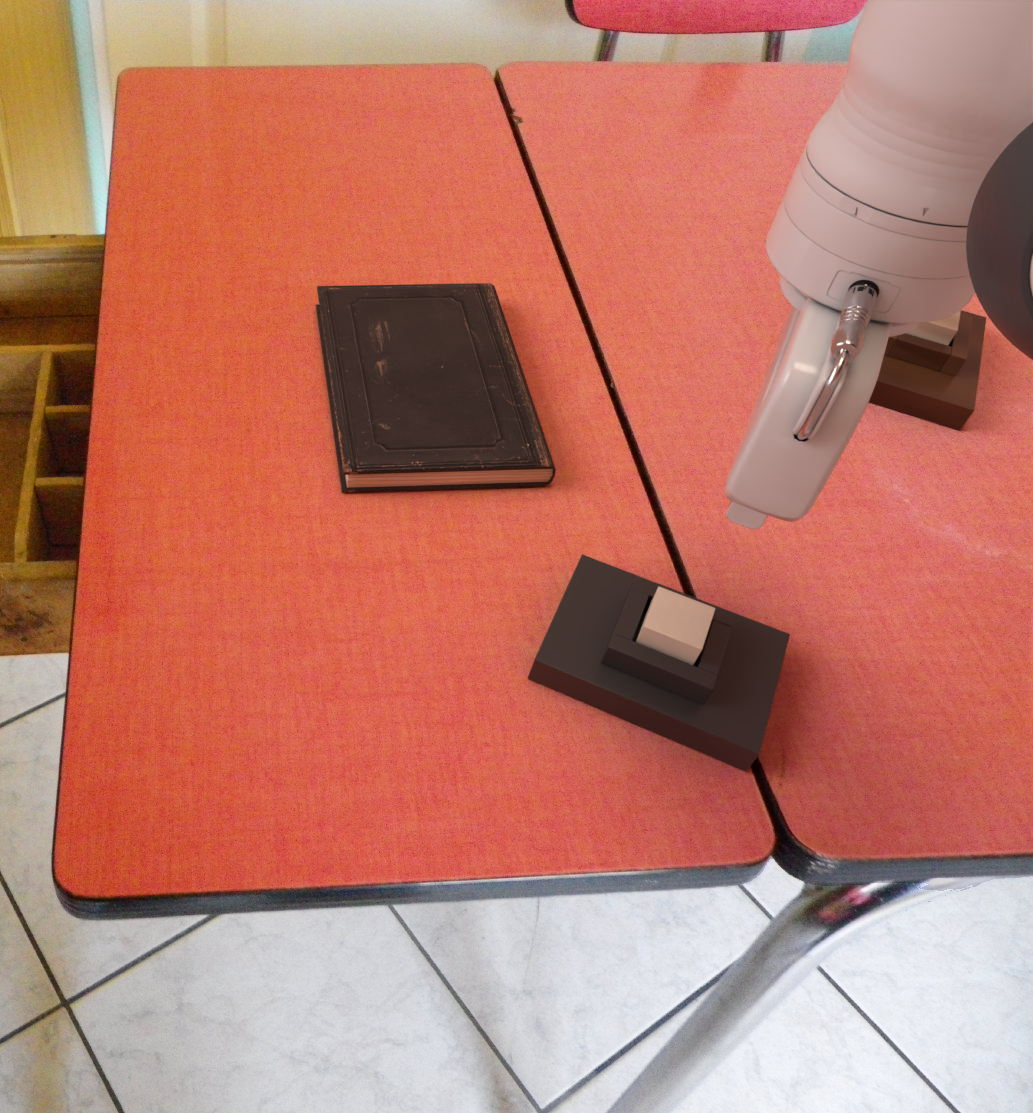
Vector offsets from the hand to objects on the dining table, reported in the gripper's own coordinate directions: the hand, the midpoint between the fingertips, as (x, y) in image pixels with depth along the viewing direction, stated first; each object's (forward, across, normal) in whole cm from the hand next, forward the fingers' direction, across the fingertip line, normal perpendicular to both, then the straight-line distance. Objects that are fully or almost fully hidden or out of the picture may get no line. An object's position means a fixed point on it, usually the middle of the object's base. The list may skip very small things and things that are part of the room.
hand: (763, 460), depth 55 cm
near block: (+17, -2, 0) cm, 17 cm away
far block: (+17, +40, -10) cm, 45 cm away
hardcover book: (+17, +16, +25) cm, 34 cm away
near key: (+14, -2, 0) cm, 14 cm away
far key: (+14, +40, -10) cm, 44 cm away
